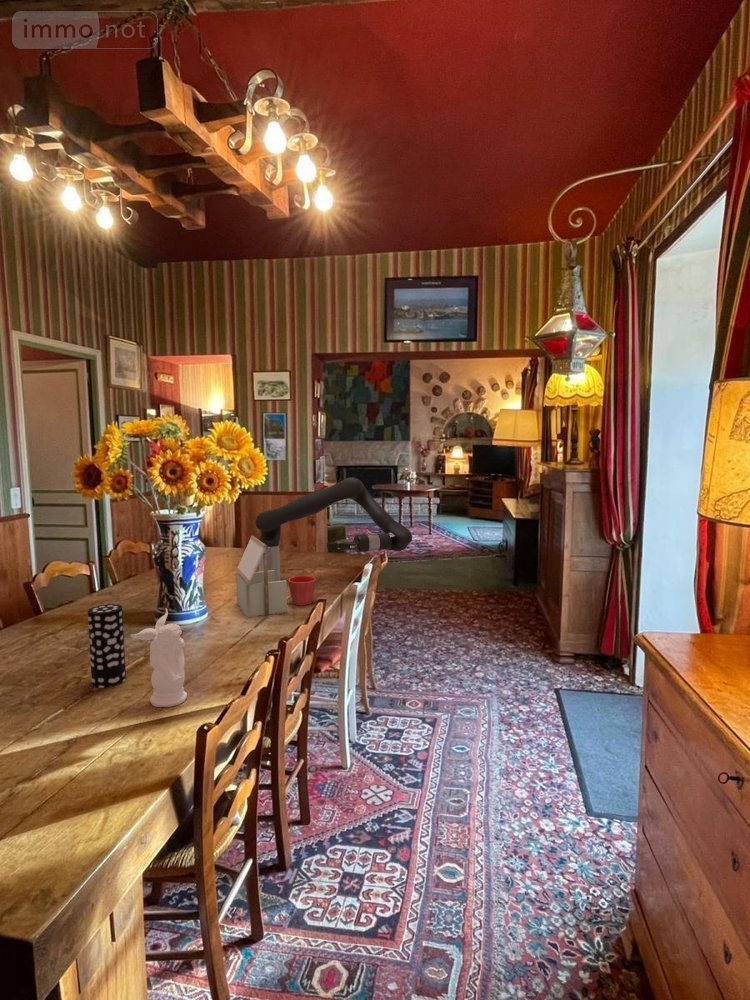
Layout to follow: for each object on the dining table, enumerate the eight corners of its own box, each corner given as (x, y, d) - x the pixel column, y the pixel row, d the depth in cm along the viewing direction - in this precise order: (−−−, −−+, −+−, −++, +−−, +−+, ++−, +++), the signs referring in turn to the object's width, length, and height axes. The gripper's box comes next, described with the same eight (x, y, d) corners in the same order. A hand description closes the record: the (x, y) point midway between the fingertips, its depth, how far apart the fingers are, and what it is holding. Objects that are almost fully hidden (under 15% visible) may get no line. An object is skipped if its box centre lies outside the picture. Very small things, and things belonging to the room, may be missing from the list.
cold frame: (237, 603, 222) (236, 573, 221) (274, 598, 229) (273, 570, 227) (247, 617, 204) (246, 585, 203) (287, 612, 210) (286, 581, 209)
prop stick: (264, 615, 207) (262, 552, 204) (268, 614, 207) (266, 552, 205) (265, 616, 205) (263, 553, 203) (269, 615, 206) (267, 553, 204)
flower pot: (314, 606, 218) (314, 582, 217) (286, 606, 218) (285, 582, 217) (317, 598, 228) (317, 575, 227) (291, 598, 229) (290, 575, 228)
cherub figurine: (186, 708, 135) (182, 619, 132) (130, 715, 131) (125, 625, 128) (188, 686, 146) (184, 604, 143) (137, 692, 143) (132, 609, 140)
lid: (238, 571, 223) (235, 570, 223) (253, 536, 224) (251, 535, 224) (250, 583, 202) (247, 583, 202) (267, 545, 203) (264, 544, 203)
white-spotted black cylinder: (102, 674, 154) (97, 604, 152) (131, 675, 154) (128, 604, 152) (85, 687, 146) (81, 613, 144) (116, 688, 145) (112, 613, 143)
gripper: (360, 531, 238) (322, 534, 231) (373, 536, 226) (333, 539, 219) (360, 548, 239) (322, 552, 232) (373, 554, 227) (333, 558, 220)
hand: (327, 546), depth 225 cm, fingers closed
